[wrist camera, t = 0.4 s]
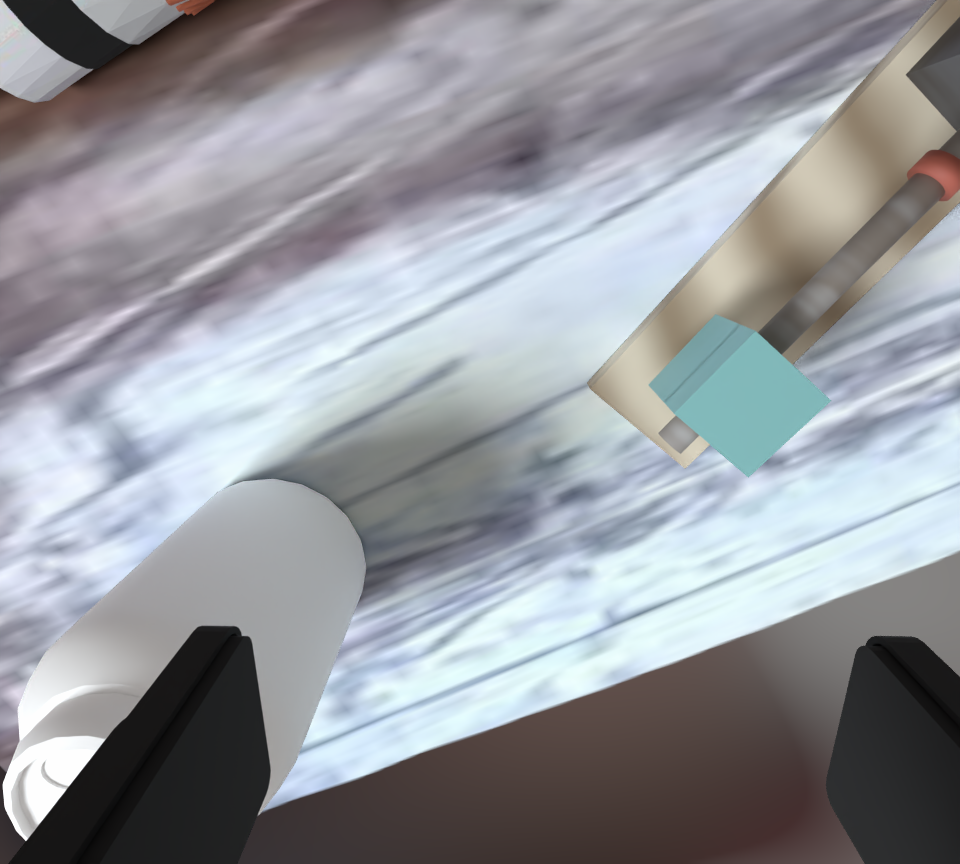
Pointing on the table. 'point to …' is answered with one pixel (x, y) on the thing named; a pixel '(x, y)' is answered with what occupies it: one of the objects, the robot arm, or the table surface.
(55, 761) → the white jar
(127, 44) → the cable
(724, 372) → the sleeve
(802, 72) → the table surface
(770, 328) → the wooden slide rail
